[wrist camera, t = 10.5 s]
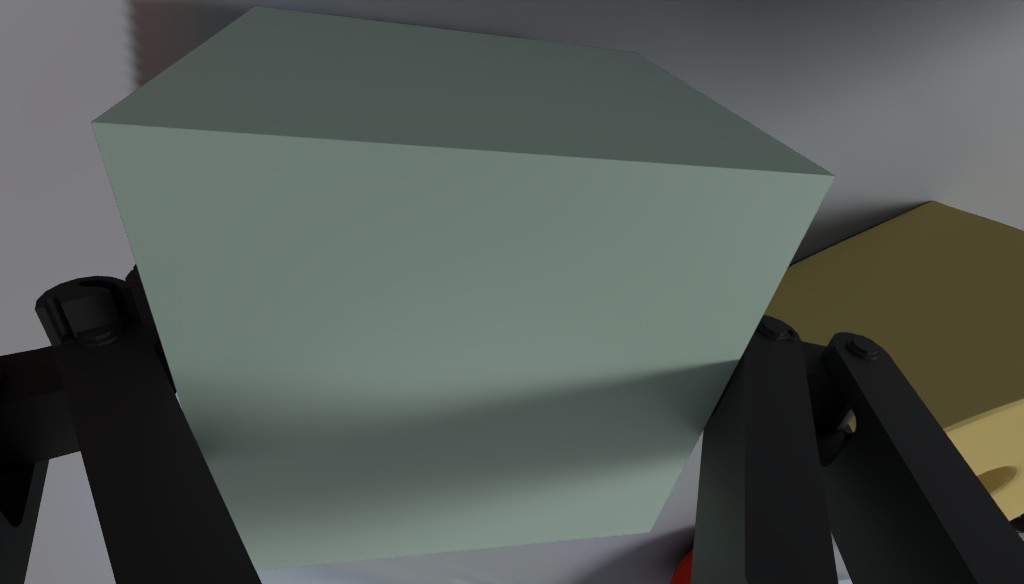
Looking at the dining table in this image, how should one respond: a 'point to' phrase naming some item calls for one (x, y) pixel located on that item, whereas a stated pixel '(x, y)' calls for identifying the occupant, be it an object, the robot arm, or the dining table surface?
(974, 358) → the cheese
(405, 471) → the sage green cube
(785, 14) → the dining table surface
